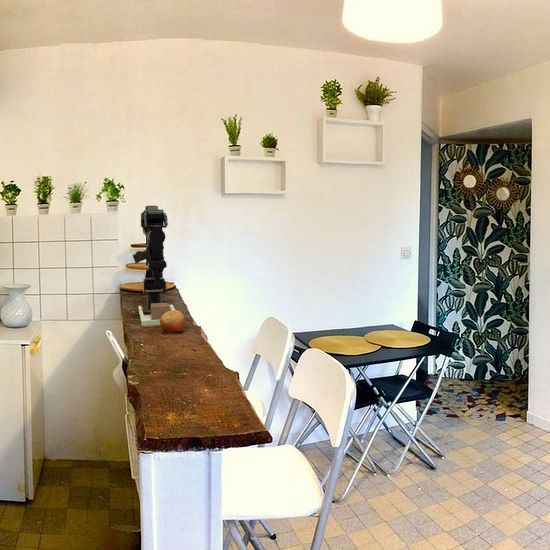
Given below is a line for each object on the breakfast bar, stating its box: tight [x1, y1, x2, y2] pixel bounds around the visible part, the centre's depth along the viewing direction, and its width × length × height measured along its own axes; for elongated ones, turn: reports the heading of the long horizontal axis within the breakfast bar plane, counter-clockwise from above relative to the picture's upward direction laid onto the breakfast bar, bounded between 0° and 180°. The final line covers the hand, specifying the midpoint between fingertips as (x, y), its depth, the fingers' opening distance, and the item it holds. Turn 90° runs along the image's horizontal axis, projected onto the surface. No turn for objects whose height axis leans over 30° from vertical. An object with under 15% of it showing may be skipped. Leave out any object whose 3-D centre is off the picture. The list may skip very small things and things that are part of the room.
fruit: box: [160, 309, 186, 334], centre depth 168 cm, size 8×8×8 cm
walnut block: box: [150, 302, 171, 320], centre depth 179 cm, size 6×6×6 cm
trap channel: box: [138, 304, 176, 327], centre depth 189 cm, size 30×13×2 cm, turn 17°
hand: (156, 284), depth 194 cm, fingers closed
